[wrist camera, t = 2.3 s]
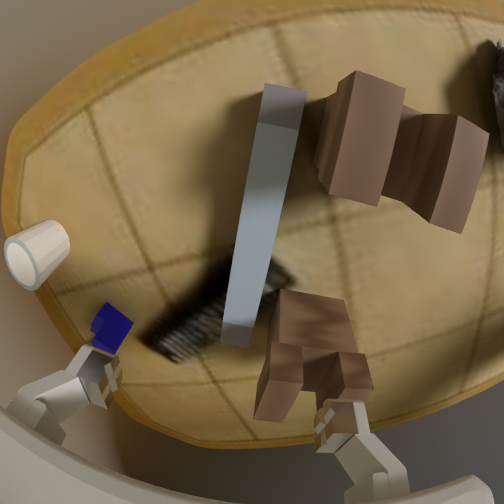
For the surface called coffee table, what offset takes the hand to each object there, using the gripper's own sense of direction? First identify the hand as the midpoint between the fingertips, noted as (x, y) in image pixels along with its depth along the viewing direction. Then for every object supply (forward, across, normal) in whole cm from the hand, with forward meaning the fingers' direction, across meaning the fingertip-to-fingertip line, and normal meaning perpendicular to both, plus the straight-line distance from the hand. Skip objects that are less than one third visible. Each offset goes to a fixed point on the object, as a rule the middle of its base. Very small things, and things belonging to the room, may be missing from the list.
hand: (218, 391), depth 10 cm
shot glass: (+19, +25, +7) cm, 32 cm away
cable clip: (+19, +18, +21) cm, 33 cm away
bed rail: (+18, 0, 0) cm, 18 cm away
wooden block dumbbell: (+18, -7, 0) cm, 20 cm away
